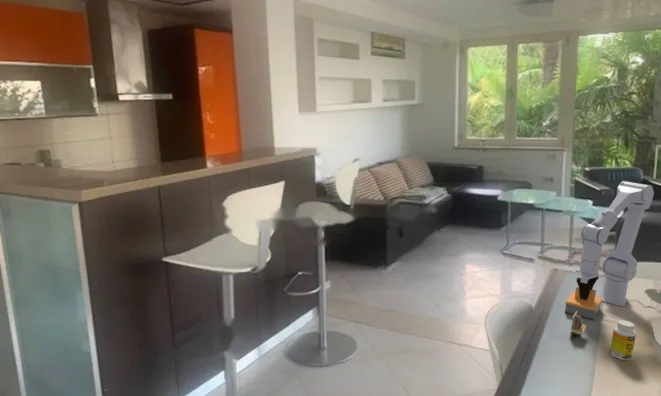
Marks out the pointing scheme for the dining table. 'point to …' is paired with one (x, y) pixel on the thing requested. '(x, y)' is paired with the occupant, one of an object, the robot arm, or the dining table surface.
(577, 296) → the lid
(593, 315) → the tub
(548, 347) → the dining table surface
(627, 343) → the supplement bottle
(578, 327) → the architectural model
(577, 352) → the dining table surface
